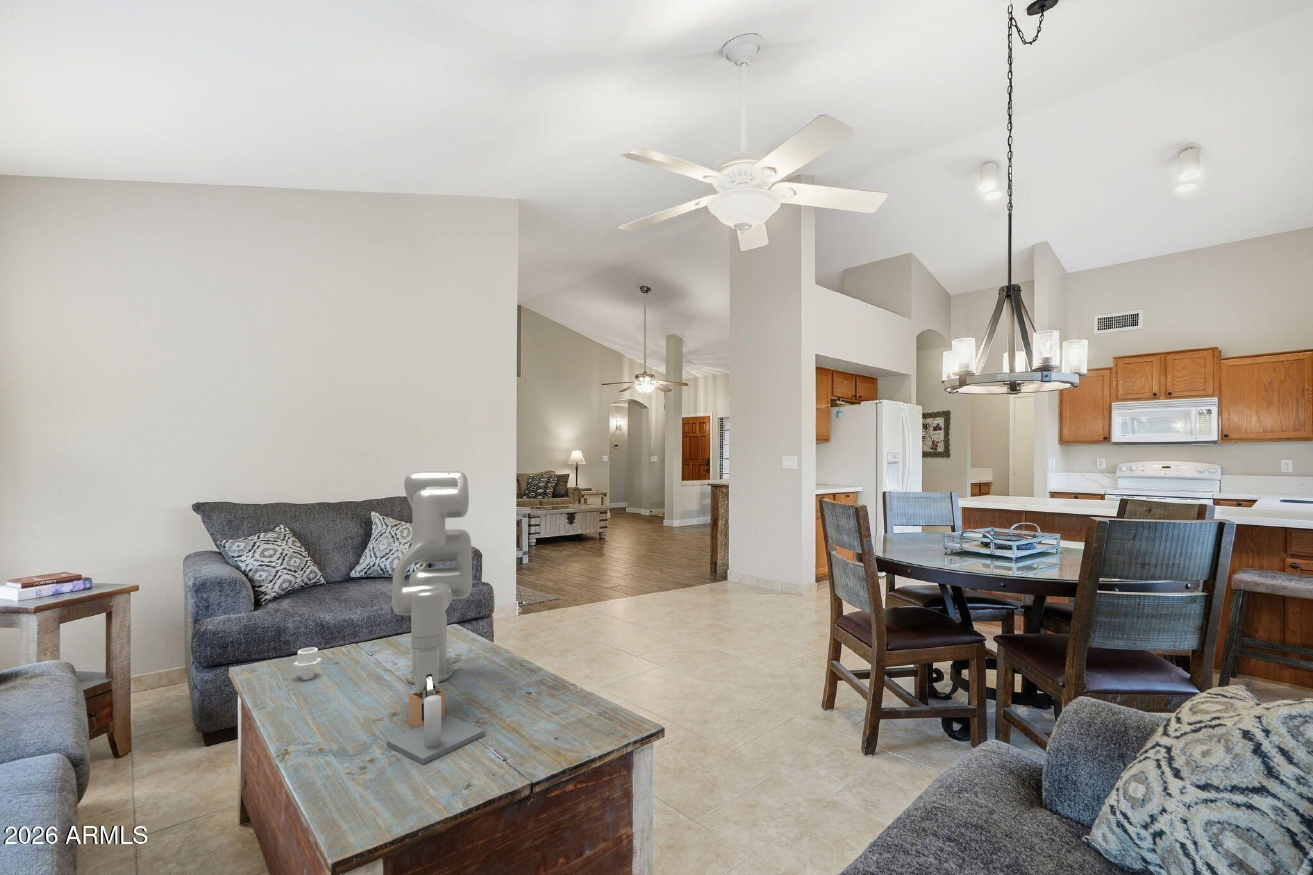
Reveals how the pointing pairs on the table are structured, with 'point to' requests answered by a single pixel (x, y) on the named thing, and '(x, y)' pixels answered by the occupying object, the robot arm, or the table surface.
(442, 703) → the hollow square tube
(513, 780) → the table surface
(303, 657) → the pipe fitting
